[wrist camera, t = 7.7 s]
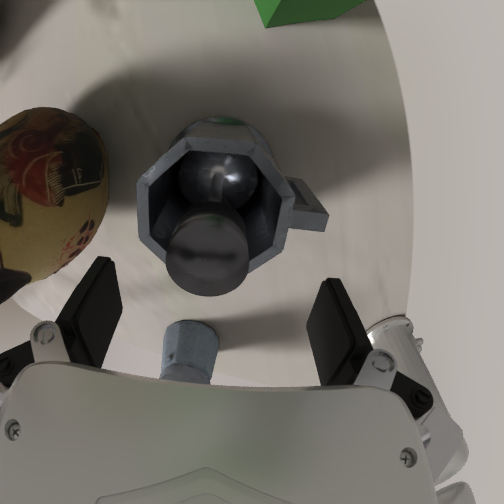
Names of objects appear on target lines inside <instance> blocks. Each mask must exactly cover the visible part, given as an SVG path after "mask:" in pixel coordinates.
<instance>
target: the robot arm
mask: <svg viewBox="0 0 504 504" xmlns="http://www.w3.org/2000/svg"><path fill="white" fill-rule="evenodd" d="M122 309H123V306H122V301H121V296H120V291H119V286H118V281H117V275H116V269H115V263H114V261H111V258H109V257H102V256H98V257H97V258H96V259H95V261H94V262H93V264H92V265H91V267H90V268H89V269H88V271H87V272H86V274H85V275H84V277H83V278H82V280H81V281H80V283H79V284H78V285H77V287H76V288H75V290H74V291H73V293H72V294H71V296H70V298H69V299H68V301H67V302H66V304H65V306H64V307H63V309H62V311H61V312H60V314H59V316H58V318H57V319H56V321H55V322H53V321H43V322H40V323H38V324H37V325H36V326H34V328H33V329H32V331H31V334H30V340H29V341H27V342H25V343H23V344H21V345H18V346H16V347H14V348H12V349H10V350H7V351H5V352H3V353H1V354H0V504H476V503H475V499H474V496H473V493H472V490H471V488H470V486H469V485H468V484H467V483H466V482H456V483H453V484H451V485H449V486H447V487H444V488H442V489H440V490H438V491H436V492H435V487H434V486H436V485H438V484H440V483H442V482H444V481H446V480H447V479H449V478H451V477H452V476H453V475H455V474H456V473H457V472H458V471H460V470H461V469H462V467H463V466H464V465H465V463H466V461H467V459H468V454H469V451H468V446H467V443H466V441H465V439H464V437H463V432H462V429H461V428H460V427H459V426H458V425H457V424H456V423H455V422H454V421H453V419H452V418H451V416H450V414H449V412H448V410H447V408H446V406H445V404H444V402H443V400H442V398H441V396H440V394H439V391H438V390H437V387H436V385H435V383H434V381H433V379H432V377H431V375H430V373H429V371H428V369H427V367H426V365H425V363H424V361H423V359H422V357H421V355H420V352H421V350H422V347H421V344H423V339H422V338H419V339H415V338H414V336H413V335H412V333H413V324H412V322H411V321H410V320H409V319H408V318H406V317H402V316H399V317H392V318H389V319H386V320H383V321H381V322H379V323H378V324H376V325H374V326H373V327H371V328H370V329H369V330H367V331H365V329H364V326H363V324H362V322H361V320H360V318H359V316H358V314H357V311H356V310H355V308H354V306H353V304H352V302H351V300H350V298H349V296H348V294H347V292H346V290H345V288H344V286H343V284H342V282H341V280H340V279H339V278H327V279H326V281H323V282H322V284H321V286H320V289H319V292H318V295H317V297H316V300H315V303H314V305H313V308H312V311H311V313H310V316H309V318H308V321H307V326H306V327H307V332H308V336H309V340H310V344H311V348H312V351H313V355H314V359H315V363H316V367H317V371H318V375H319V379H320V383H321V386H310V387H240V386H222V385H208V384H197V383H187V382H178V381H170V380H163V379H156V378H149V377H143V376H137V375H131V374H126V373H121V372H116V371H111V370H106V369H101V367H102V364H103V361H104V358H105V355H106V353H107V350H108V347H109V345H110V342H111V339H112V337H113V334H114V331H115V329H116V326H117V324H118V321H119V319H120V316H121V314H122Z"/></svg>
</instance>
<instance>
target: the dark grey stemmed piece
mask: <svg viewBox="0 0 504 504" xmlns="http://www.w3.org/2000/svg"><path fill="white" fill-rule="evenodd" d="M179 181H180V186H181V189H182V191H183V194H184V195H185V197H186V198H187V199H188V201H189V202H190V203H191V204H193V205H192V206H190V207H189V208H187V209H186V210H185V211H184V212H183V213H182V214H181V216H180V217H179V219H178V221H177V224H176V227H175V230H174V232H173V235H172V238H171V241H170V244H169V246H168V249H167V252H166V260H165V262H166V268H167V271H168V273H169V275H170V277H171V278H172V280H173V281H174V282H175V283H176V284H177V285H178V286H179V287H181V288H182V289H184V290H185V291H187V292H190V293H192V294H195V295H199V296H219V295H223V294H226V293H228V292H231V291H232V290H234V289H236V288H237V287H238V286H239V285H240V284H241V283H242V282H243V281H244V279H245V278H246V276H247V273H248V270H249V254H248V245H247V236H246V228H245V224H244V222H243V220H242V218H241V216H240V215H239V214H238V213H237V212H236V211H235V209H238V208H239V207H241V206H242V205H244V204H245V203H246V202H247V201H248V200H249V199H250V197H251V196H252V194H253V192H254V190H255V187H256V184H257V169H256V166H255V163H254V161H253V160H252V159H251V158H250V156H248V155H239V154H229V153H219V152H207V151H193V150H190V152H189V153H188V154H187V155H186V157H185V158H184V160H183V162H182V165H181V168H180V173H179Z"/></svg>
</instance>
